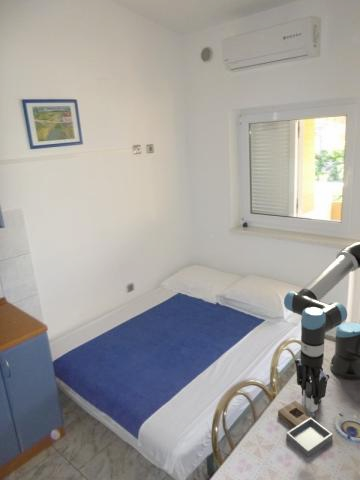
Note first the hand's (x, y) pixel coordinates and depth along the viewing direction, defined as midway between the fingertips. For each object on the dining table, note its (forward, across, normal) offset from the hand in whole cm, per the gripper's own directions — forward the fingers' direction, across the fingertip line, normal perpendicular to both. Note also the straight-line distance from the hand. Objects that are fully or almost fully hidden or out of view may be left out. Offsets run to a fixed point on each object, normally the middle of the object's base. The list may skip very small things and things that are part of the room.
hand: (310, 406), depth 135 cm
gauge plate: (+15, -10, +4) cm, 18 cm away
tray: (+15, 0, 0) cm, 15 cm away
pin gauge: (+3, 0, 0) cm, 3 cm away
